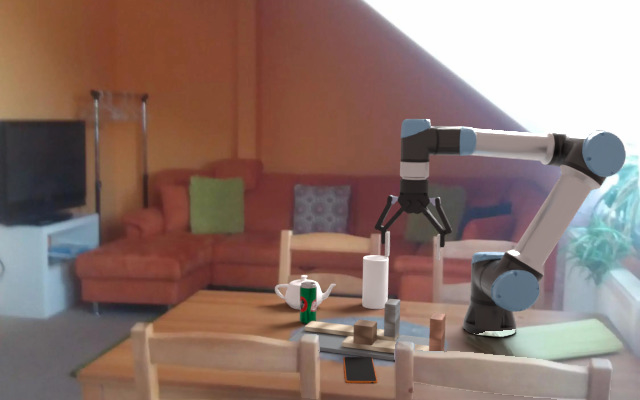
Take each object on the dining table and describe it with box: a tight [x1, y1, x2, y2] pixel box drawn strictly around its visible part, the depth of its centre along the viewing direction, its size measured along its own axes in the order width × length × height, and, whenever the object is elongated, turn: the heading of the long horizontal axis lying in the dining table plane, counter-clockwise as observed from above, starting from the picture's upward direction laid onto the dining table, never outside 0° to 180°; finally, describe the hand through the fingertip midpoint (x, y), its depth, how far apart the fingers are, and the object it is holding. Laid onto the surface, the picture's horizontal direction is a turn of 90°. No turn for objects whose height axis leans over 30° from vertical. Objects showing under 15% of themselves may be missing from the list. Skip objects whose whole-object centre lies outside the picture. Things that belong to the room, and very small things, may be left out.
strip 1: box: [304, 298, 401, 342], centre depth 191 cm, size 26×6×10 cm, turn 70°
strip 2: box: [342, 312, 447, 353], centre depth 178 cm, size 26×6×10 cm, turn 70°
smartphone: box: [343, 356, 378, 384], centre depth 167 cm, size 8×17×1 cm, turn 0°
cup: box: [361, 254, 389, 310], centre depth 223 cm, size 8×8×16 cm
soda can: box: [299, 281, 318, 325], centre depth 205 cm, size 5×5×12 cm
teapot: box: [274, 274, 337, 311], centre depth 222 cm, size 20×12×10 cm, turn 84°
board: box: [288, 326, 429, 361], centre depth 186 cm, size 39×18×1 cm, turn 70°
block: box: [353, 319, 378, 346], centre depth 181 cm, size 5×5×5 cm
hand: (412, 257), depth 182 cm, fingers open, 13 cm apart
